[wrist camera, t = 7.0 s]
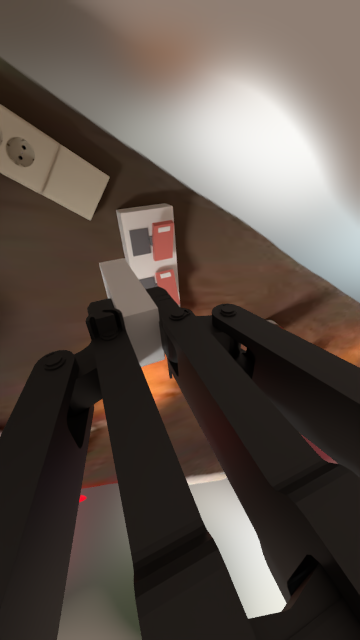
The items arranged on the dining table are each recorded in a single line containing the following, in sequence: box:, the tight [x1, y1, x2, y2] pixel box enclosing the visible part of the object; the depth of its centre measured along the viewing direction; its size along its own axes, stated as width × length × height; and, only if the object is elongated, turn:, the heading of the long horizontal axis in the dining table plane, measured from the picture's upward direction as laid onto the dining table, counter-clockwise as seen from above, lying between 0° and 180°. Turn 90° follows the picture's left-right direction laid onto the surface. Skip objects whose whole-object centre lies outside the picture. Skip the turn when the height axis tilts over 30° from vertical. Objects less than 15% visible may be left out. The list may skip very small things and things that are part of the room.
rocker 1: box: [152, 220, 174, 261], centre depth 43 cm, size 3×7×1 cm, turn 4°
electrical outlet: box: [0, 104, 110, 221], centre depth 35 cm, size 7×4×18 cm
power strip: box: [116, 203, 180, 357], centre depth 52 cm, size 9×35×5 cm, turn 4°
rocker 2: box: [155, 269, 180, 305], centre depth 47 cm, size 3×7×1 cm, turn 4°
